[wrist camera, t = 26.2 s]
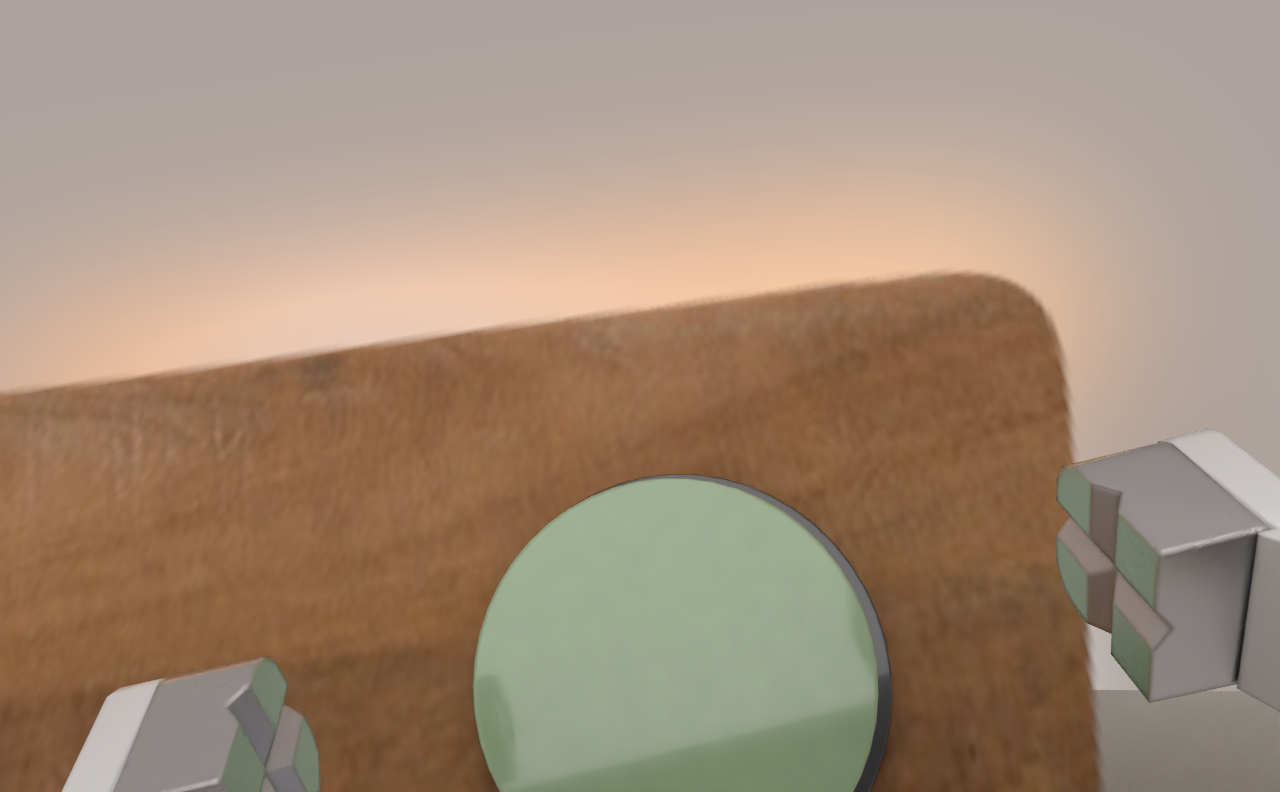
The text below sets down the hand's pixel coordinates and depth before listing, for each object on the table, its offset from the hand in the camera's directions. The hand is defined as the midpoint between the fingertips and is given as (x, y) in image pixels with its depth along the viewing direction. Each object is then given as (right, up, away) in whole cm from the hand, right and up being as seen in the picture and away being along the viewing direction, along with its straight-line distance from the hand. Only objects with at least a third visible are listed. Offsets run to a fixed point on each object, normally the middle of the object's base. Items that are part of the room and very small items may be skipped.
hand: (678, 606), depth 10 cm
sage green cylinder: (0, -5, +14) cm, 14 cm away
